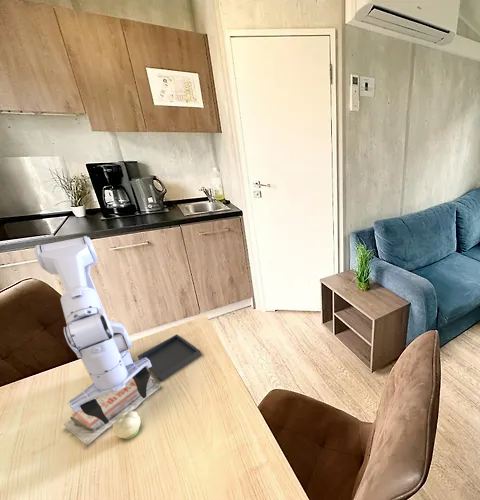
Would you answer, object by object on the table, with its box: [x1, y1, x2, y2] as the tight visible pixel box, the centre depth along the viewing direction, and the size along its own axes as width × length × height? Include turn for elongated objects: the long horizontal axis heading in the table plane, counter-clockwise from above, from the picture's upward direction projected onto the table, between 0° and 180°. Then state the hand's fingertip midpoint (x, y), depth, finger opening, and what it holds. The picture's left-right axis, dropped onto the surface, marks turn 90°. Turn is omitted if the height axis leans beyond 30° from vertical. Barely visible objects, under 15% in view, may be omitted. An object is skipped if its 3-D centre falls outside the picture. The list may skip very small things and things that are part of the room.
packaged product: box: [63, 375, 161, 446], centre depth 75 cm, size 18×5×10 cm
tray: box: [137, 334, 202, 382], centre depth 92 cm, size 14×12×2 cm
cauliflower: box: [112, 410, 142, 440], centre depth 69 cm, size 5×5×6 cm
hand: (125, 407), depth 66 cm, fingers open, 7 cm apart
